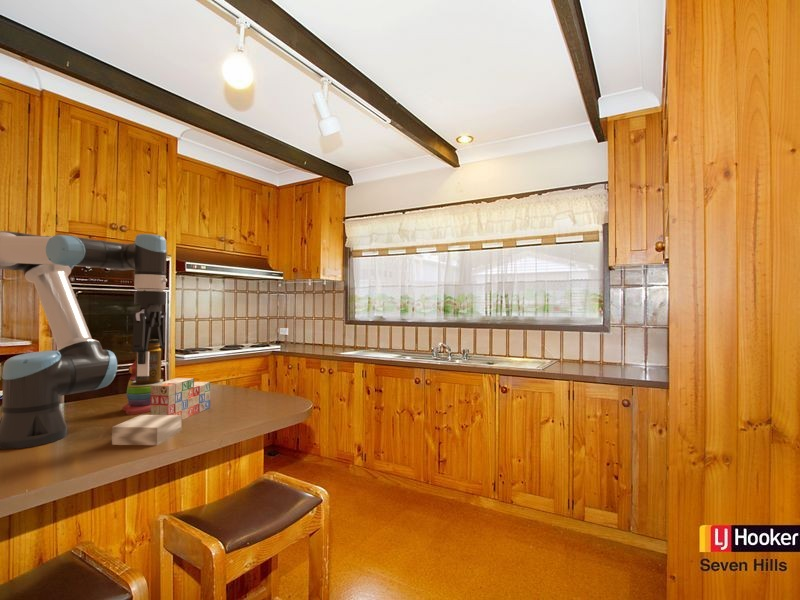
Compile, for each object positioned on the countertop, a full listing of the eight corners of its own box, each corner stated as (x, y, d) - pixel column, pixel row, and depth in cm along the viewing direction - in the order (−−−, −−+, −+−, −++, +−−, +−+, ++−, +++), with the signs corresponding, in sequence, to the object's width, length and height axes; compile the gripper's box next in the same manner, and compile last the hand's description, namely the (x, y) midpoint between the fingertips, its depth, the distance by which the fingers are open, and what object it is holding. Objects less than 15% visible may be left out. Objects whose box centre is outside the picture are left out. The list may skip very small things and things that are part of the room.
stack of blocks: (194, 407, 150) (195, 373, 150) (210, 408, 149) (210, 373, 149) (149, 424, 129) (150, 384, 129) (168, 425, 128) (168, 385, 128)
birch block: (111, 445, 110) (112, 426, 110) (140, 431, 122) (140, 414, 122) (157, 446, 110) (157, 427, 110) (181, 432, 122) (181, 415, 122)
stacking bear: (121, 409, 146) (121, 358, 146) (154, 404, 153) (154, 356, 153) (126, 415, 138) (127, 361, 138) (161, 410, 145) (162, 359, 145)
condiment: (163, 379, 121) (164, 338, 121) (161, 385, 113) (162, 340, 114) (133, 381, 118) (134, 338, 118) (129, 387, 110) (130, 341, 110)
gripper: (147, 289, 108) (146, 380, 107) (179, 291, 126) (178, 368, 126) (116, 289, 107) (115, 380, 107) (152, 291, 126) (151, 368, 126)
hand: (149, 373), depth 116 cm, fingers closed on condiment, 6 cm apart
